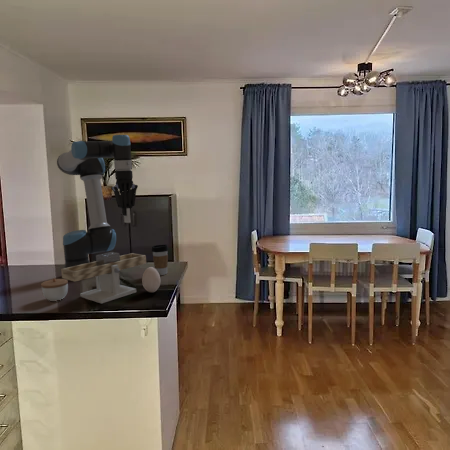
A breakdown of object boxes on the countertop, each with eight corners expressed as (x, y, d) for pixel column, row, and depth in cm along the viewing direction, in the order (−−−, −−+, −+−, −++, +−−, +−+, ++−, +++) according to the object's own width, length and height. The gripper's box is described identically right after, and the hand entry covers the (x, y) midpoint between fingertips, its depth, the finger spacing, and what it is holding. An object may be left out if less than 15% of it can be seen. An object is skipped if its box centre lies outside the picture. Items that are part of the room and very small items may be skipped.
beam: (74, 281, 164) (74, 271, 163) (62, 277, 170) (61, 268, 170) (146, 263, 191) (145, 255, 190) (132, 260, 197) (132, 252, 197)
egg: (145, 296, 178) (143, 270, 176) (141, 291, 185) (139, 266, 183) (163, 293, 181) (161, 267, 179) (158, 288, 188) (157, 264, 187)
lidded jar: (47, 296, 183) (45, 275, 182) (72, 294, 184) (70, 274, 183) (39, 304, 173) (36, 282, 171) (65, 302, 174) (63, 281, 172)
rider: (104, 268, 176) (103, 256, 176) (96, 266, 180) (95, 255, 179) (120, 264, 182) (119, 253, 182) (112, 262, 186) (111, 251, 185)
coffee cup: (166, 276, 208) (164, 247, 206) (150, 275, 210) (148, 247, 208) (172, 271, 216) (170, 243, 214) (156, 271, 218) (154, 243, 216)
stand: (101, 303, 170) (98, 270, 168) (80, 296, 181) (77, 265, 179) (136, 292, 184) (134, 261, 182) (114, 286, 194) (112, 257, 192)
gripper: (116, 170, 177) (120, 225, 180) (140, 169, 187) (144, 221, 190) (106, 171, 182) (110, 223, 185) (130, 169, 191) (134, 220, 195)
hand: (127, 222), depth 188 cm, fingers closed
